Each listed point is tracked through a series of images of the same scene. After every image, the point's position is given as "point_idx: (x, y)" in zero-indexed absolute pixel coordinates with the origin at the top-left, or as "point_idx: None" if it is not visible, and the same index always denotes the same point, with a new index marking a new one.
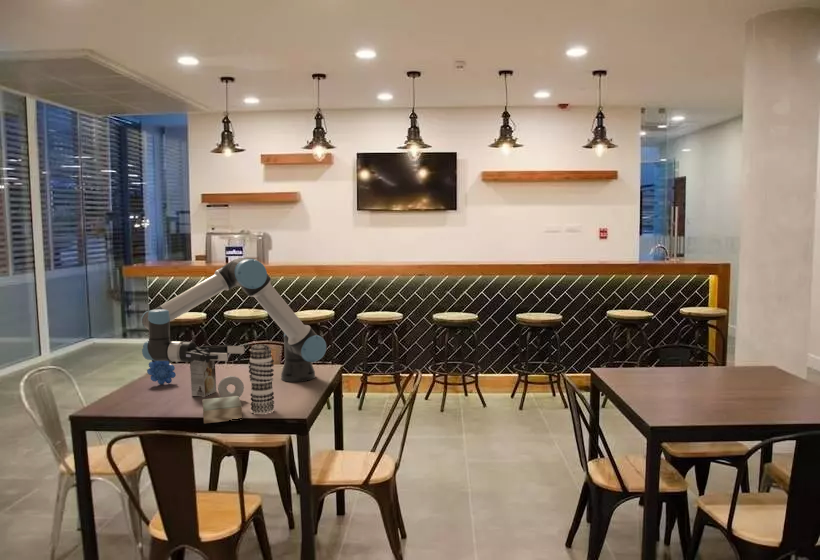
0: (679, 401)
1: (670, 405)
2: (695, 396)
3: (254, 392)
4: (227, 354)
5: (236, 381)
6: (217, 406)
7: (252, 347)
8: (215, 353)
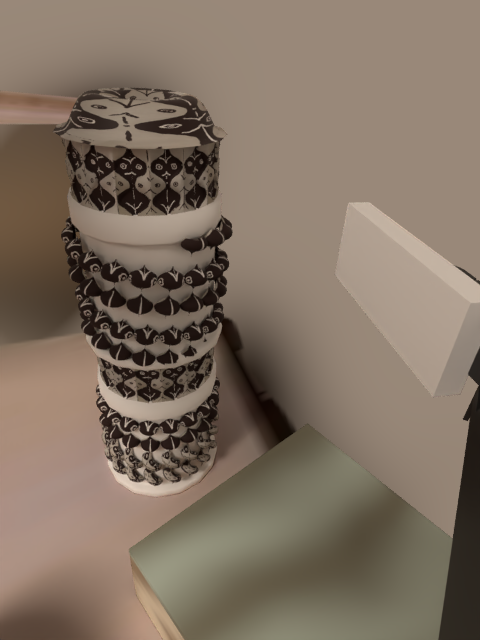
0: (41, 113)
1: (58, 116)
2: (21, 109)
3: (214, 378)
4: (346, 215)
5: None
6: (392, 527)
7: (188, 114)
8: (440, 260)
